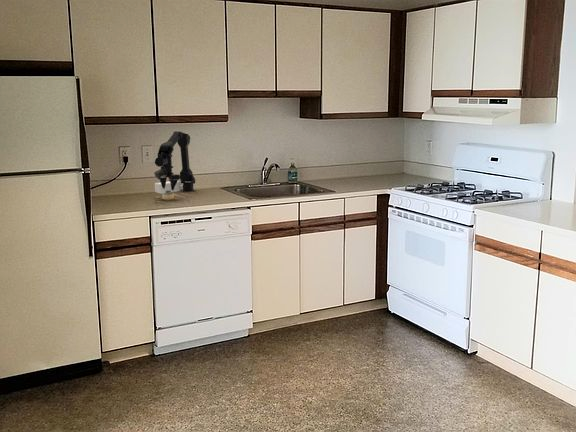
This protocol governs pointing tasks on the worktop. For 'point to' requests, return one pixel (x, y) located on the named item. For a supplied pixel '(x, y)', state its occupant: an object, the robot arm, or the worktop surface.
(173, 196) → the brass ring
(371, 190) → the worktop surface
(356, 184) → the worktop surface
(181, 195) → the copper plate
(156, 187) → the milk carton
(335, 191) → the worktop surface
